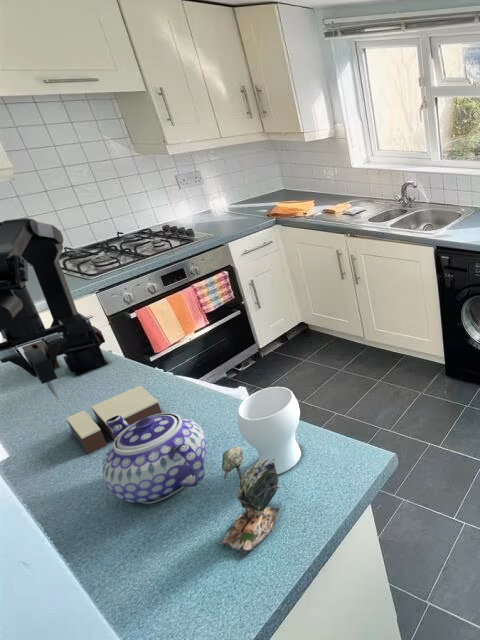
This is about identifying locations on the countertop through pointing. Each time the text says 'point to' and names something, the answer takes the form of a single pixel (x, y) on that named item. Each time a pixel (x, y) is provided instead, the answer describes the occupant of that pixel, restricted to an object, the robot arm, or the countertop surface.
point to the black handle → (42, 368)
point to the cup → (271, 426)
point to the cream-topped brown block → (86, 431)
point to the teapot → (154, 457)
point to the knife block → (38, 345)
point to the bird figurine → (251, 501)
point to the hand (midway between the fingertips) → (44, 373)
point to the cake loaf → (126, 407)
